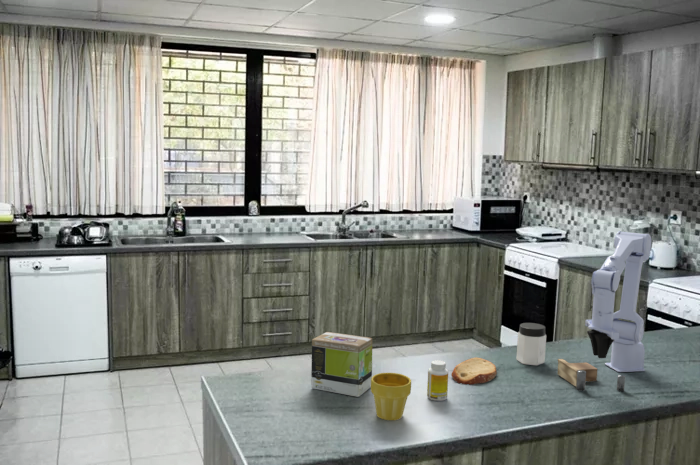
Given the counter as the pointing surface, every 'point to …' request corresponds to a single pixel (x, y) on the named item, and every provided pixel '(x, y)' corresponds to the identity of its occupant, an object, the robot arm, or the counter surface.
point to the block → (587, 370)
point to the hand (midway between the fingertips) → (599, 356)
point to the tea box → (341, 363)
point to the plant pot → (390, 394)
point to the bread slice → (474, 371)
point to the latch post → (620, 383)
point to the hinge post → (581, 380)
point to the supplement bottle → (437, 381)
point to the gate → (567, 371)
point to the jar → (531, 344)
